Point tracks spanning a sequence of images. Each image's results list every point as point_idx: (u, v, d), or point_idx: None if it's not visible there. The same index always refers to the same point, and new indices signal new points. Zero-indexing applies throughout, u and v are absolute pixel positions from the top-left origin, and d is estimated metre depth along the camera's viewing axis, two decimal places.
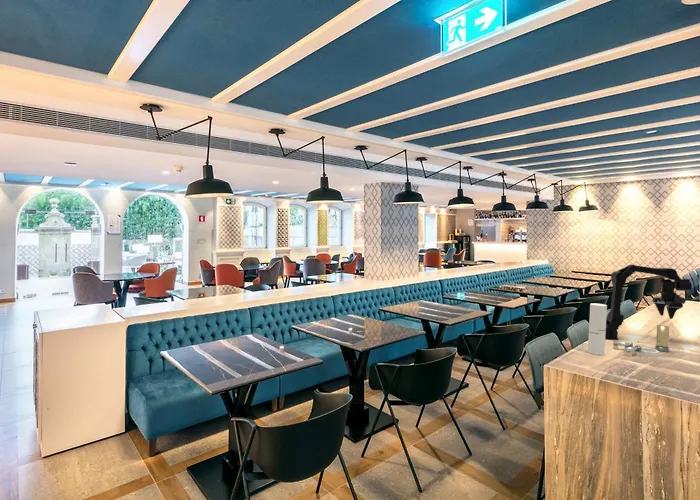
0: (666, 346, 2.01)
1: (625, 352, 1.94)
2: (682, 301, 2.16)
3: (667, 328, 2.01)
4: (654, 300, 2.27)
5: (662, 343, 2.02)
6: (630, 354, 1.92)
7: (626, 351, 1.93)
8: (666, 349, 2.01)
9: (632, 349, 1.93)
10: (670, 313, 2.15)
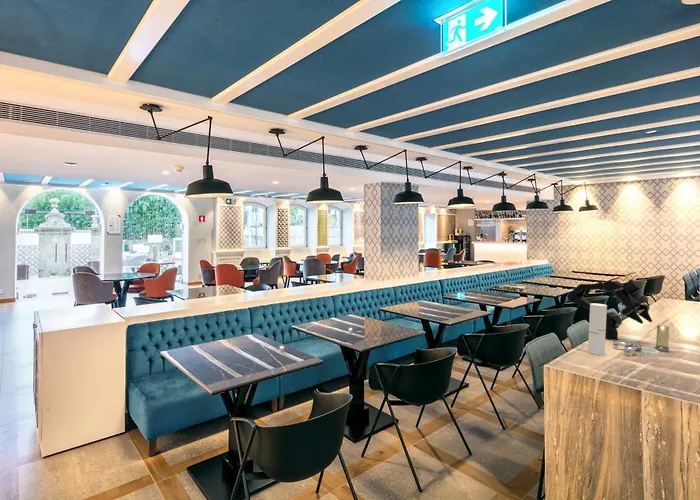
0: (666, 346, 2.01)
1: (625, 352, 1.94)
2: (640, 301, 2.10)
3: (667, 328, 2.01)
4: None
5: (662, 343, 2.02)
6: (630, 354, 1.92)
7: (626, 351, 1.93)
8: (666, 349, 2.01)
9: (632, 349, 1.93)
10: (635, 319, 2.10)
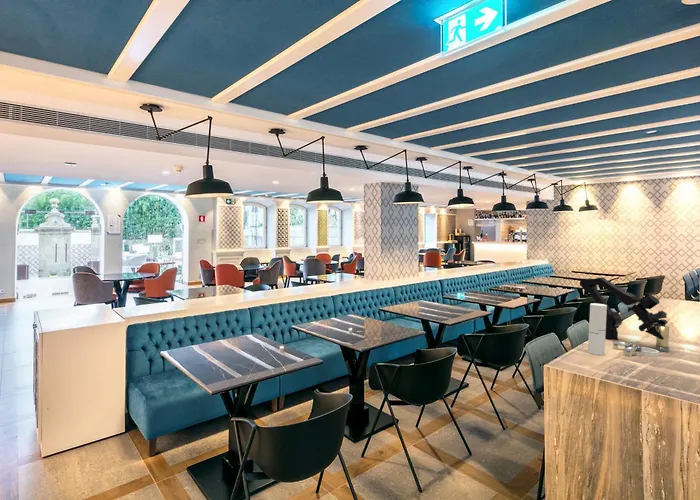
0: (666, 346, 2.01)
1: (625, 352, 1.94)
2: (658, 317, 2.03)
3: (667, 328, 2.01)
4: None
5: (662, 343, 2.02)
6: (630, 354, 1.92)
7: (626, 351, 1.93)
8: (666, 349, 2.01)
9: (632, 349, 1.93)
10: (655, 335, 2.03)
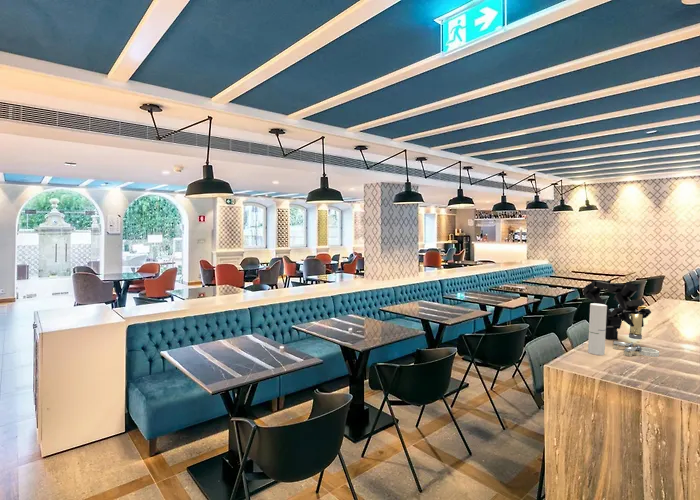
0: (637, 333, 2.04)
1: (625, 352, 1.94)
2: (631, 304, 2.06)
3: (638, 315, 2.03)
4: None
5: (632, 330, 2.05)
6: (630, 354, 1.92)
7: (626, 351, 1.93)
8: (636, 336, 2.04)
9: (632, 349, 1.93)
10: (627, 322, 2.07)
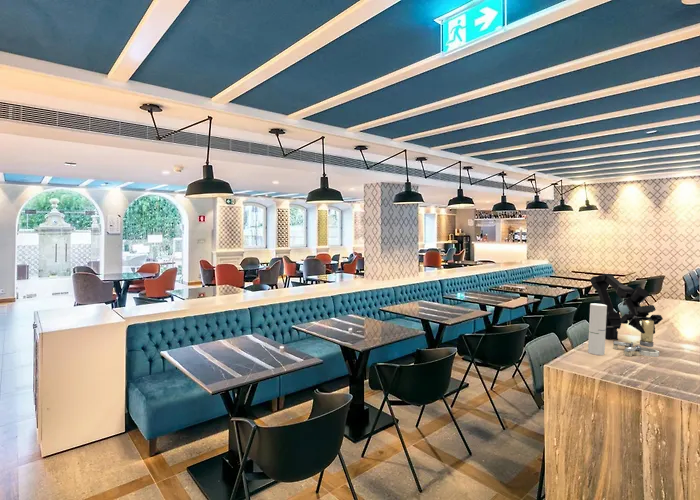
0: (648, 340, 1.96)
1: (625, 352, 1.94)
2: (641, 310, 1.98)
3: (649, 322, 1.95)
4: None
5: (643, 337, 1.97)
6: (630, 354, 1.92)
7: (626, 351, 1.93)
8: (647, 343, 1.95)
9: (632, 349, 1.93)
10: (637, 328, 1.99)
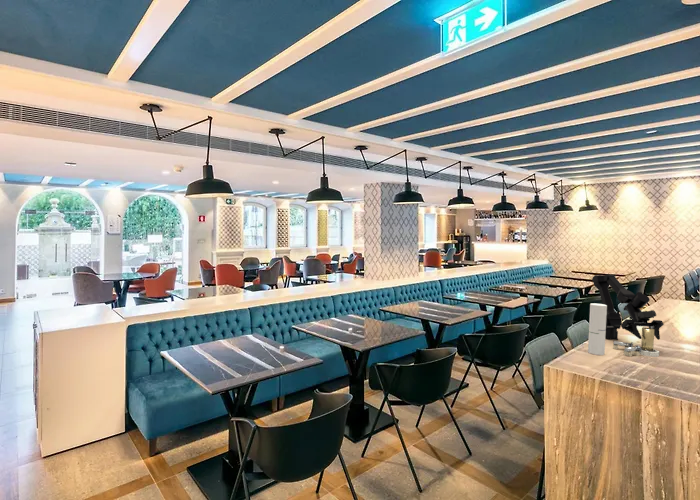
0: (648, 349, 1.95)
1: (625, 352, 1.94)
2: (642, 315, 1.98)
3: (649, 330, 1.95)
4: None
5: (644, 345, 1.96)
6: (630, 354, 1.92)
7: (626, 351, 1.93)
8: None
9: (632, 349, 1.93)
10: (634, 334, 1.99)
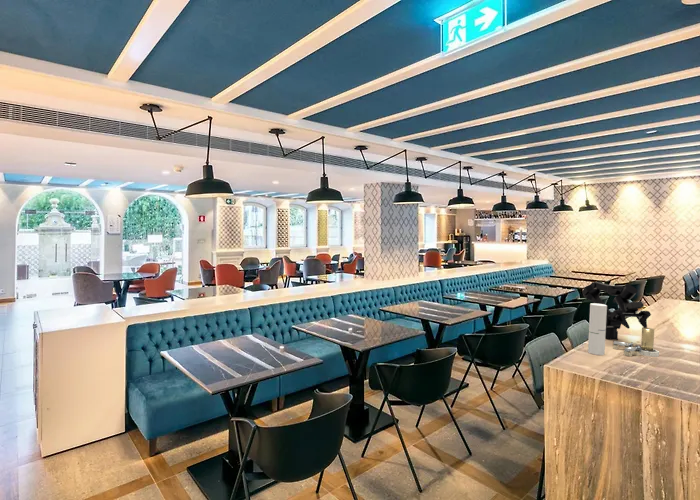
0: (648, 349, 1.95)
1: (625, 352, 1.94)
2: (630, 306, 2.07)
3: (649, 330, 1.95)
4: None
5: (644, 345, 1.96)
6: (630, 354, 1.92)
7: (626, 351, 1.93)
8: None
9: (632, 349, 1.93)
10: (623, 324, 2.07)
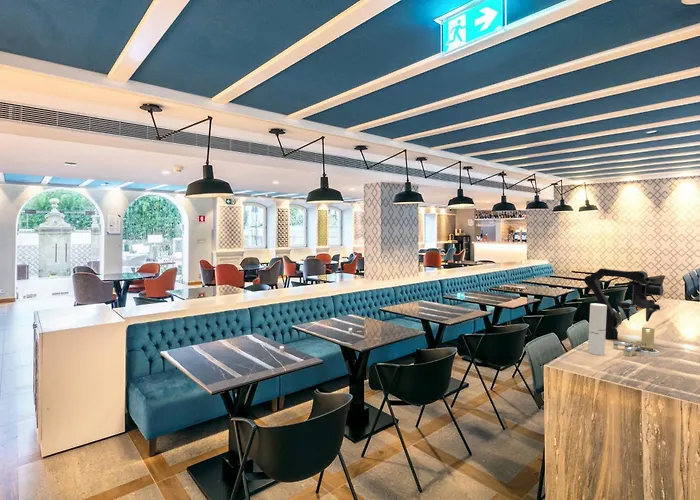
0: (648, 349, 1.95)
1: (625, 352, 1.94)
2: (639, 305, 2.10)
3: (650, 330, 1.95)
4: None
5: (644, 345, 1.96)
6: (630, 354, 1.92)
7: (626, 351, 1.93)
8: None
9: (632, 349, 1.93)
10: (625, 314, 2.17)
